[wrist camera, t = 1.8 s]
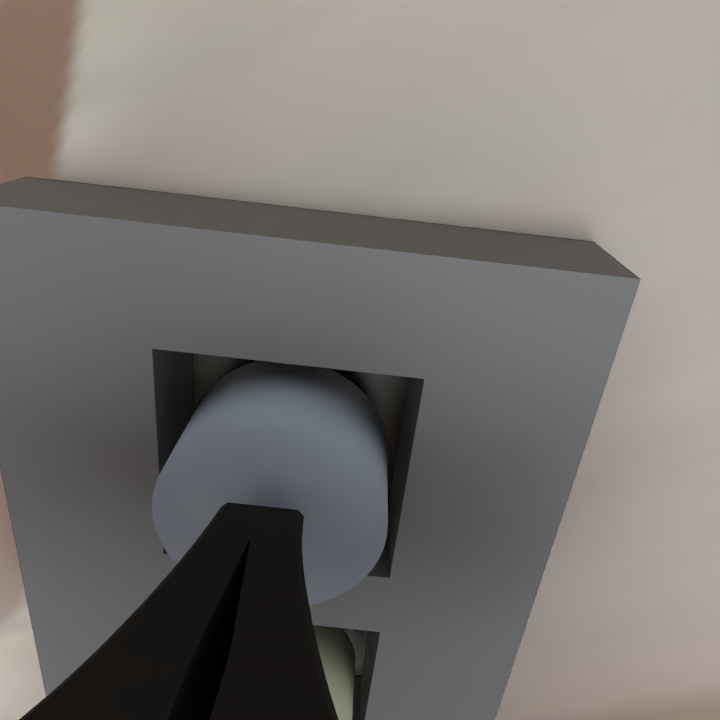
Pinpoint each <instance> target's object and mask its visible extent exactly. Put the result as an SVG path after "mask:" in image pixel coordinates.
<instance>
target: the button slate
mask: <svg viewBox="0 0 720 720" xmlns="http://www.w3.org/2000/svg"><path fill="white" fill-rule="evenodd" d="M227 502H230V503H239V504H248V505H258V506H267V507H276V508H286V509H295V510H299V511H300V512H301V513H302V514H303V516H304V521H303V534H302V556H303V567H304V576H305V583H306V590H307V596H308V601H309V605H312V604H317V603H321V602H324V601H326V600H329V599H332V598H334V597H336V596H339V595H341V594H343V593H345V592H346V591H348V590H349V589H351V588H352V587H354V586H356V585H357V584H358V583H359V582H360V581H361V580H363V579H364V578H365V577H366V576H367V575H368V573H369V572H370V571H371V570H372V569H373V568H374V566H375V564H376V563H377V561H378V560H379V558H380V556H381V554H382V551H383V549H384V546H385V542H386V538H387V529H388V479H387V438H386V433H385V429H384V425H383V423H382V420H381V418H380V415H379V413H378V412H377V410H376V408H375V407H374V405H373V403H372V402H371V401H370V400H369V398H368V397H367V396H366V395H365V394H364V393H363V392H362V391H361V390H360V389H359V388H358V387H357V386H356V385H355V384H353V383H352V382H351V381H349V380H348V379H347V378H345V377H343V376H342V375H340V374H338V373H336V372H335V371H332V370H330V369H328V368H321V367H312V366H303V365H294V364H285V363H276V362H267V361H259V362H254V363H251V364H248V365H245V366H242V367H240V368H237V369H235V370H233V371H231V372H229V373H228V374H226V375H225V376H223V377H222V378H220V379H219V380H218V381H217V382H216V383H215V384H214V385H212V386H211V388H210V389H209V390H208V391H207V392H206V394H205V395H204V396H203V398H202V400H201V401H200V403H199V405H198V406H197V408H196V410H195V412H194V414H193V415H192V417H191V419H190V421H189V423H188V424H187V426H186V428H185V430H184V431H183V433H182V435H181V437H180V439H179V440H178V442H177V444H176V446H175V448H174V449H173V451H172V453H171V455H170V456H169V458H168V460H167V462H166V464H165V465H164V467H163V469H162V471H161V473H160V474H159V476H158V479H157V482H156V484H155V487H154V492H153V497H152V515H153V522H154V526H155V529H156V532H157V535H158V537H159V539H160V541H161V543H162V545H163V547H164V549H165V550H166V552H167V553H168V555H169V556H170V557H171V559H172V560H173V561H174V562H175V563H176V564H177V563H178V562H179V561H180V560H181V559H182V557H183V556H184V555H185V554H186V552H187V551H188V550H189V549H190V548H191V546H192V545H193V544H194V543H195V541H196V540H197V539H198V537H199V536H200V535H201V534H202V532H203V531H204V530H205V528H206V527H207V526H208V524H209V523H210V522H211V520H212V519H213V517H214V516H215V515H216V513H217V512H218V510H219V509H220V507H221V506H223V505H224V504H226V503H227Z"/></svg>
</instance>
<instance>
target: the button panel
mask: <svg viewBox="0 0 720 720" xmlns="http://www.w3.org/2000/svg"><path fill="white" fill-rule="evenodd" d="M639 282H640V278H638V277H637V276H636V275H635V274H633V273H632V272H631V271H630V270H628V269H627V268H626V267H625V266H623V265H622V264H621V263H620V262H618V261H617V260H616V259H615V258H614V257H612V256H611V255H610V254H609V253H607V252H606V251H605V250H604V249H602V248H601V247H600V246H599V245H597V244H596V243H595V242H590V241H581V240H572V239H564V238H555V237H546V236H537V235H529V234H520V233H511V232H503V231H494V230H485V229H477V228H468V227H459V226H451V225H442V224H433V223H424V222H416V221H407V220H398V219H390V218H381V217H372V216H364V215H355V214H346V213H337V212H329V211H320V210H311V209H303V208H294V207H285V206H277V205H268V204H259V203H250V202H242V201H233V200H224V199H216V198H207V197H198V196H190V195H181V194H172V193H164V192H155V191H146V190H137V189H129V188H120V187H111V186H103V185H94V184H85V183H77V182H68V181H59V180H50V179H41V178H33V177H24V178H20V179H17V180H13V181H10V182H6V183H3V184H0V470H1V475H2V479H3V485H4V490H5V495H6V500H7V505H8V510H9V515H10V520H11V524H12V529H13V534H14V539H15V544H16V549H17V554H18V559H19V564H20V569H21V574H22V579H23V584H24V589H25V594H26V599H27V604H28V609H29V614H30V619H31V624H32V629H33V634H34V639H35V644H36V649H37V653H38V658H39V663H40V668H41V673H42V678H43V683H44V688H45V693H46V696H48V695H49V694H50V693H51V692H52V691H53V690H54V689H55V688H56V687H58V686H59V685H60V684H61V683H62V682H63V681H64V680H65V679H66V678H68V677H69V676H70V675H71V674H72V673H73V672H74V671H75V670H76V669H77V668H78V667H80V666H81V665H82V664H83V663H84V662H85V661H86V660H87V659H88V658H89V657H90V656H91V655H92V654H93V653H94V652H95V651H96V650H97V649H98V648H99V647H100V646H101V645H102V644H103V643H104V642H105V641H106V640H107V639H108V638H109V637H110V636H111V635H112V634H113V633H114V632H115V631H116V630H117V629H118V628H119V627H120V626H121V625H122V624H123V623H124V622H125V621H126V620H127V619H128V618H129V617H130V616H131V615H132V614H133V612H134V611H135V610H136V609H137V608H138V607H139V606H140V605H141V604H142V603H143V602H144V601H145V600H146V599H147V598H148V597H149V595H150V594H151V593H152V592H153V591H154V590H155V589H156V588H157V586H158V585H159V584H160V583H161V582H162V581H163V579H164V578H165V577H166V576H167V575H168V574H169V573H170V571H171V570H172V569H173V568H174V567H175V566H176V565H177V564H176V563H175V562H174V561H173V560H172V559H171V557H170V556H169V555H168V553H167V552H166V550H165V549H164V547H163V545H162V543H161V541H160V539H159V537H158V535H157V532H156V529H155V526H154V522H153V515H152V497H153V492H154V487H155V484H156V482H157V479H158V476H159V474H160V473H161V471H162V469H163V467H164V465H165V464H166V462H167V460H168V458H169V456H170V455H171V453H172V451H173V449H174V448H175V446H176V444H177V442H178V440H179V439H180V437H181V435H182V433H183V431H184V430H185V428H186V426H187V424H188V423H189V421H190V419H191V417H192V415H193V369H192V353H195V354H204V355H213V356H222V357H231V358H240V359H249V360H258V361H267V362H276V363H285V364H294V365H303V366H312V367H321V368H330V369H339V370H348V371H357V372H366V373H375V374H383V375H392V376H401V377H410V379H409V385H408V392H407V398H406V404H405V410H404V416H403V422H402V429H401V435H400V441H399V447H398V453H397V459H396V466H395V472H394V478H393V484H392V490H391V496H390V502H389V506H388V529H387V538H386V542H385V546H384V549H383V551H382V554H381V556H380V558H379V560H378V561H377V563H376V564H375V566H374V568H373V569H372V570H371V571H370V572H369V573H368V575H367V576H366V577H365V578H364V579H363V580H361V581H360V582H359V583H358V584H357V585H356V586H354V587H352V588H351V589H349V590H348V591H346V592H345V593H343V594H341V595H339V596H336V597H334V598H332V599H329V600H326V601H324V602H321V603H317V604H312V605H309V607H310V612H311V618H312V623H313V625H318V626H327V627H337V628H346V629H356V630H365V631H369V632H368V638H367V644H366V650H365V656H364V663H363V669H362V675H361V677H354V692H353V712H352V720H495V717H496V714H497V711H498V708H499V705H500V702H501V699H502V696H503V693H504V690H505V687H506V684H507V681H508V678H509V675H510V672H511V669H512V666H513V663H514V660H515V657H516V654H517V651H518V648H519V645H520V642H521V639H522V636H523V633H524V630H525V627H526V624H527V621H528V618H529V615H530V612H531V609H532V606H533V603H534V600H535V597H536V594H537V590H538V587H539V584H540V581H541V578H542V575H543V572H544V569H545V566H546V563H547V560H548V557H549V554H550V551H551V548H552V545H553V542H554V539H555V536H556V533H557V530H558V527H559V524H560V521H561V518H562V515H563V512H564V509H565V506H566V503H567V500H568V497H569V494H570V491H571V488H572V485H573V482H574V479H575V476H576V473H577V470H578V467H579V464H580V461H581V458H582V455H583V452H584V449H585V446H586V442H587V439H588V436H589V433H590V430H591V427H592V424H593V421H594V418H595V415H596V412H597V409H598V406H599V403H600V400H601V397H602V394H603V391H604V388H605V385H606V382H607V379H608V376H609V373H610V370H611V367H612V364H613V361H614V358H615V355H616V352H617V349H618V346H619V343H620V340H621V337H622V334H623V331H624V328H625V325H626V322H627V319H628V316H629V313H630V310H631V307H632V304H633V301H634V298H635V294H636V291H637V288H638V285H639Z"/></svg>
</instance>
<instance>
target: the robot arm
mask: <svg viewBox="0 0 720 720" xmlns="http://www.w3.org/2000/svg"><path fill="white" fill-rule="evenodd" d="M303 521H304V516H303V514H302V513H301V512H300V511H299V510H295V509H286V508H276V507H267V506H258V505H248V504H239V503H230V502H227V503H226V504H224V505H223V506H221V507H220V509H219V510H218V512H217V513H216V515H215V516H214V517H213V519H212V520H211V522H210V523H209V524H208V526H207V527H206V528H205V530H204V531H203V532H202V534H201V535H200V536H199V537H198V539H197V540H196V541H195V543H194V544H193V545H192V546H191V548H190V549H189V550H188V551H187V552H186V554H185V555H184V556H183V557H182V559H181V560H180V561H179V562H178V563H177V565H176V566H175V567H174V568H173V569H172V570H171V571H170V573H169V574H168V575H167V576H166V577H165V578H164V579H163V581H162V582H161V583H160V584H159V585H158V586H157V588H156V589H155V590H154V591H153V592H152V593H151V594H150V595H149V597H148V598H147V599H146V600H145V601H144V602H143V603H142V604H141V605H140V606H139V607H138V608H137V609H136V610H135V611H134V612H133V614H132V615H131V616H130V617H129V618H128V619H127V620H126V621H125V622H124V623H123V624H122V625H121V626H120V627H119V628H118V629H117V630H116V631H115V632H114V633H113V634H112V635H111V636H110V637H109V638H108V639H107V640H106V641H105V642H104V643H103V644H102V645H101V646H100V647H99V648H98V649H97V650H96V651H95V652H94V653H93V654H92V655H91V656H90V657H89V658H88V659H87V660H86V661H85V662H84V663H83V664H82V665H81V666H80V667H78V668H77V669H76V670H75V671H74V672H73V673H72V674H71V675H70V676H69V677H68V678H66V679H65V680H64V681H63V682H62V683H61V684H60V685H59V686H58V687H56V688H55V689H54V690H53V691H52V692H51V693H50V694H49V695H48V696H46V697H45V698H44V699H43V700H42V701H41V702H40V703H38V704H37V705H36V706H35V707H34V708H32V709H31V710H30V711H29V712H28V713H27V714H25V715H24V716H23V717H22V718H21V719H19V720H339V719H338V716H337V713H336V710H335V707H334V704H333V701H332V697H331V694H330V690H329V687H328V683H327V680H326V676H325V673H324V669H323V665H322V661H321V657H320V653H319V649H318V645H317V641H316V636H315V632H314V627H313V623H312V618H311V612H310V607H309V601H308V596H307V590H306V583H305V576H304V567H303V556H302V534H303Z"/></svg>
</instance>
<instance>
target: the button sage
mask: <svg viewBox="0 0 720 720" xmlns="http://www.w3.org/2000/svg"><path fill="white" fill-rule="evenodd" d="M313 627H314V632H315V636H316V641H317V645H318V649H319V653H320V657H321V661H322V665H323V669H324V673H325V676H326V680H327V683H328V687H329V690H330V694H331V697H332V701H333V704H334V707H335V710H336V713H337V716H338V719H339V720H352V712H353V692H354V672H355V652H354V648H353V645H352V642H351V641H350V639H349V637H348V635H347V634H346V633H345V631H344V630H343V629H342V628H337V627H327V626H318V625H313Z"/></svg>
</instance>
